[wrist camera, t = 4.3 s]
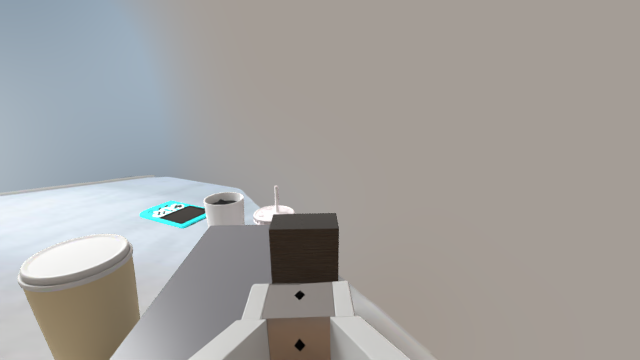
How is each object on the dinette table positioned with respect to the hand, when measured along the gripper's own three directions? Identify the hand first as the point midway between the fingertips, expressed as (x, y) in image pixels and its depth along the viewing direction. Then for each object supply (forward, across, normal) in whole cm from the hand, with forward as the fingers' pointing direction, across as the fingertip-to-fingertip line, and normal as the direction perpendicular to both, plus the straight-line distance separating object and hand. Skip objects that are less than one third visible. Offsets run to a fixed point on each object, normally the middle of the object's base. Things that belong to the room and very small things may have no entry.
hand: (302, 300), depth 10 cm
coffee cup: (+20, +24, +21) cm, 38 cm away
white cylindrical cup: (+42, +16, +21) cm, 49 cm away
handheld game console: (+59, +32, +22) cm, 71 cm away
